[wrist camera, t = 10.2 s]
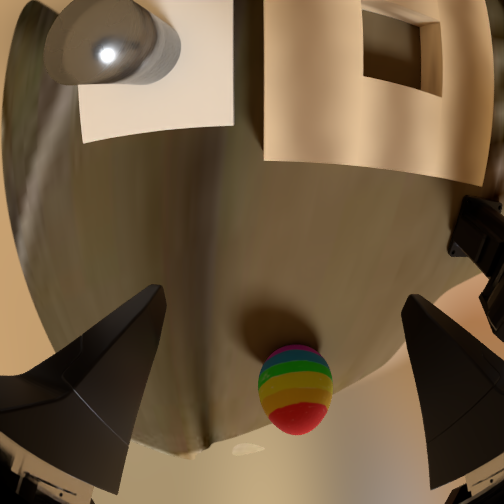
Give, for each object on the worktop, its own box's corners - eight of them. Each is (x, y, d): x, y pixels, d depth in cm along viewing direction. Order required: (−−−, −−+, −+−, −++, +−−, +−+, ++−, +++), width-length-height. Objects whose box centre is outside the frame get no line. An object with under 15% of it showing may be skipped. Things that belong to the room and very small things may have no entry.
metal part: (181, 16, 12) (134, -25, 5) (181, 79, 15) (129, 69, 8) (116, 31, 12) (47, 12, 6) (116, 90, 15) (43, 97, 8)
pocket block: (464, 0, 9) (483, -4, 6) (462, 175, 18) (482, 186, 15) (262, -57, 9) (262, -75, 6) (263, 151, 18) (264, 160, 16)
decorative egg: (245, 351, 30) (241, 430, 21) (311, 326, 27) (324, 410, 19) (278, 381, 33) (280, 449, 25) (335, 361, 31) (349, 432, 22)
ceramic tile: (234, -22, 11) (233, -26, 10) (234, 124, 17) (233, 125, 17) (86, 12, 11) (81, 10, 11) (88, 141, 18) (83, 143, 17)
